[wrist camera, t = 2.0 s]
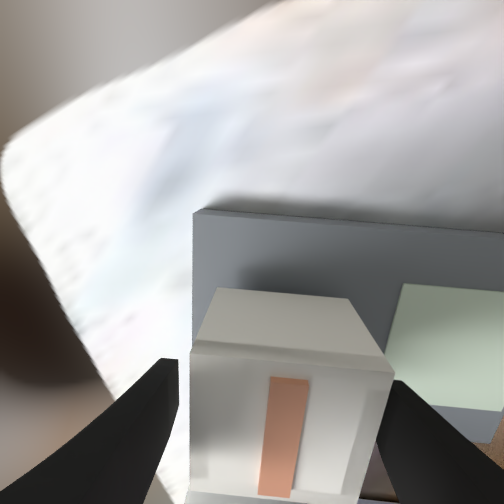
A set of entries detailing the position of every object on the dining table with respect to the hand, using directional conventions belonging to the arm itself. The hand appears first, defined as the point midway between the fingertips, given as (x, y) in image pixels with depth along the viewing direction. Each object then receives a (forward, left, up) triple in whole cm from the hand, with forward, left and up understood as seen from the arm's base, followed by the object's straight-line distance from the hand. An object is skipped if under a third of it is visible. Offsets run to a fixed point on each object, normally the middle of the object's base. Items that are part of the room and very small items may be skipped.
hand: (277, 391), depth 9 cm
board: (0, -4, -5) cm, 6 cm away
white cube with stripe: (0, 0, -3) cm, 3 cm away
